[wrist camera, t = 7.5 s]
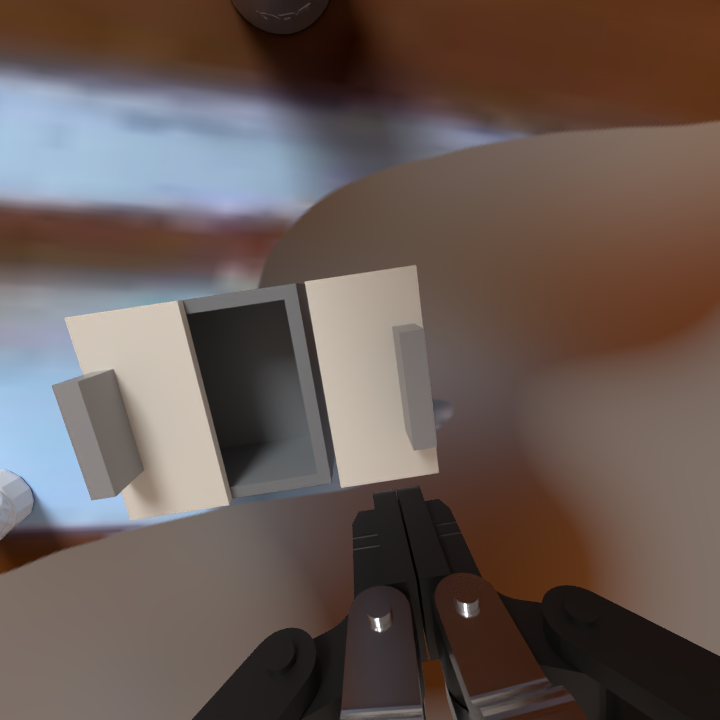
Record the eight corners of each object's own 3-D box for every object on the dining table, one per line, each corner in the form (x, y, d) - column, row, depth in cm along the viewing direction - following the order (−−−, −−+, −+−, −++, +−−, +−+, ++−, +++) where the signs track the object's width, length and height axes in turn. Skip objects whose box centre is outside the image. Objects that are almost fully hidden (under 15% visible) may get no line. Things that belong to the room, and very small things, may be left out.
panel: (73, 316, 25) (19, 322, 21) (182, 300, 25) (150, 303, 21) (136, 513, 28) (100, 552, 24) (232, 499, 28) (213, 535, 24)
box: (144, 308, 34) (72, 316, 25) (308, 284, 34) (295, 283, 25) (185, 459, 37) (136, 513, 28) (335, 436, 37) (331, 483, 28)
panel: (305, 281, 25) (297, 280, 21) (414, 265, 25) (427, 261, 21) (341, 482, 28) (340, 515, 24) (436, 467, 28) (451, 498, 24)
